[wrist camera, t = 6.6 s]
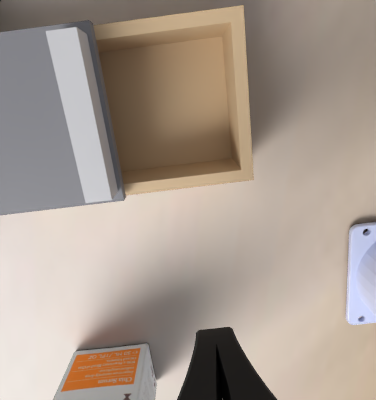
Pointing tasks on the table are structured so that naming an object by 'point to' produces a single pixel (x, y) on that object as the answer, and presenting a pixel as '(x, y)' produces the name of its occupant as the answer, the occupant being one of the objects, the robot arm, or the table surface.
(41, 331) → the table surface
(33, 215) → the table surface
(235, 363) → the robot arm
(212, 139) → the box
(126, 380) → the skincare box
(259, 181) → the table surface
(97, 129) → the lid
